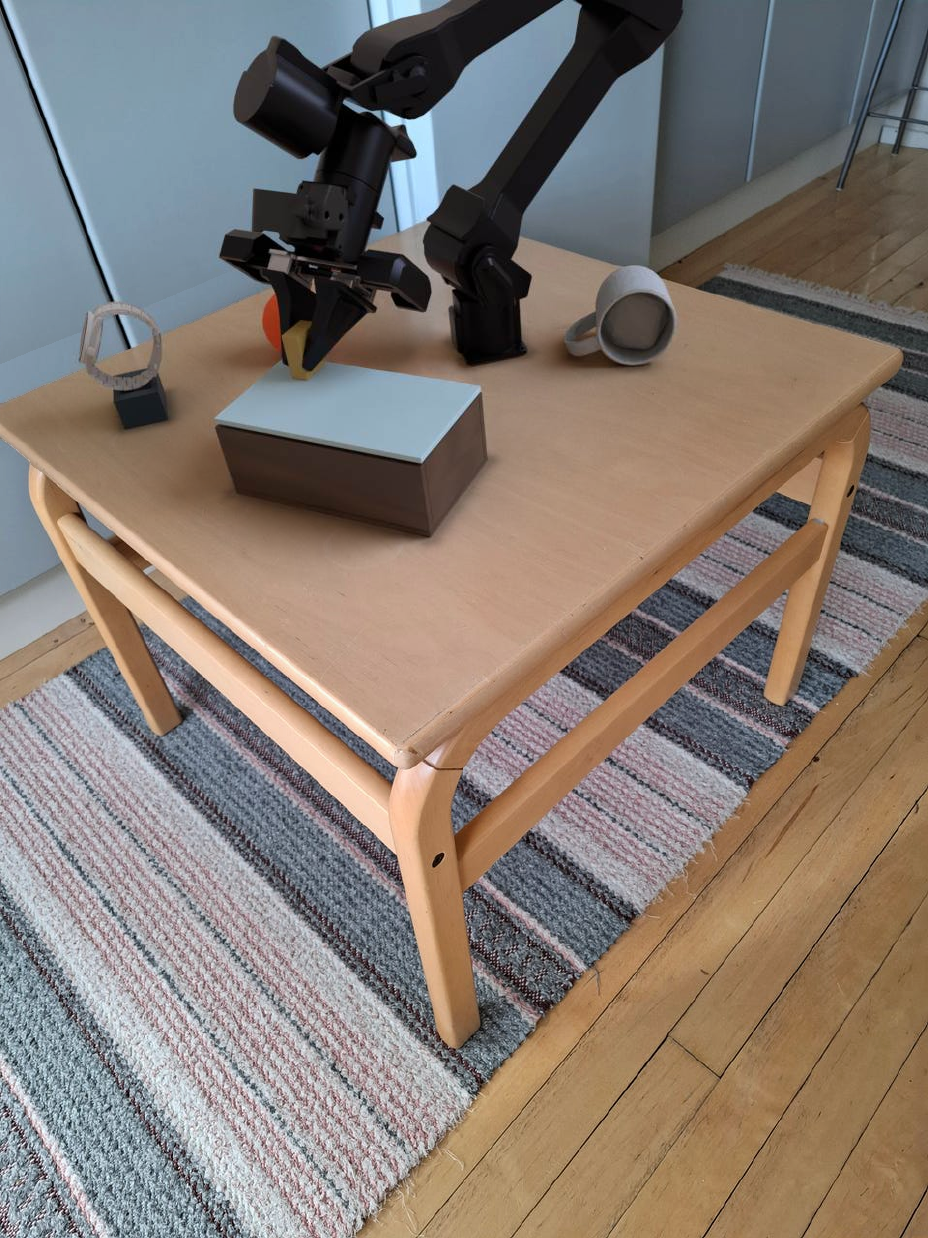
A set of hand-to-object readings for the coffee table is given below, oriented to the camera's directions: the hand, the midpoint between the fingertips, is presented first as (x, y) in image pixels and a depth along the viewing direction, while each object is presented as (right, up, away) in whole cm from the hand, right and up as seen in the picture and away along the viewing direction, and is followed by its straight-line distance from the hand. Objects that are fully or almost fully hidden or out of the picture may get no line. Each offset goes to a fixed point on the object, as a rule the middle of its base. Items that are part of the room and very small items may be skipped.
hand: (296, 367), depth 77 cm
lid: (+5, -4, -2) cm, 7 cm away
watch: (-18, -1, +14) cm, 23 cm away
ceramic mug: (+30, +6, +15) cm, 34 cm away
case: (+5, -9, +2) cm, 11 cm away
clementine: (-3, +7, +20) cm, 21 cm away
